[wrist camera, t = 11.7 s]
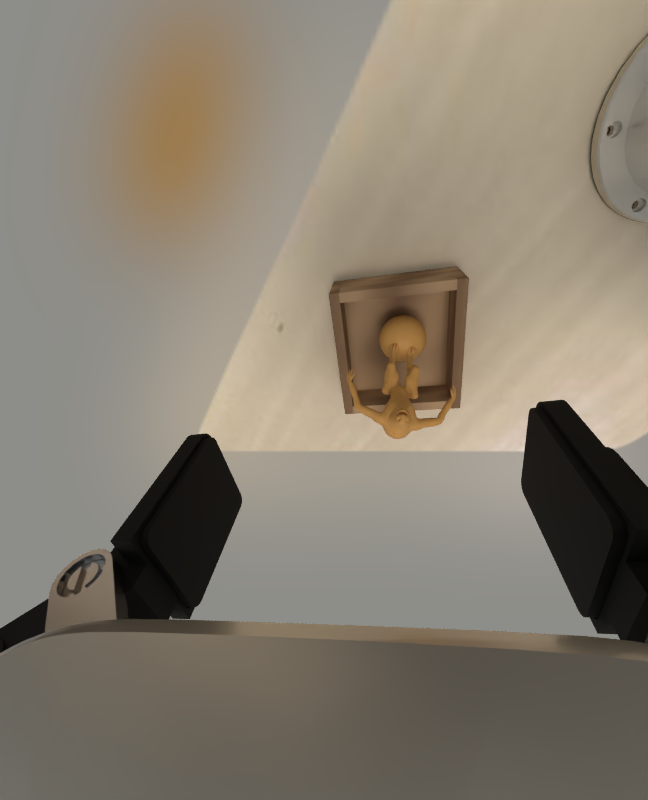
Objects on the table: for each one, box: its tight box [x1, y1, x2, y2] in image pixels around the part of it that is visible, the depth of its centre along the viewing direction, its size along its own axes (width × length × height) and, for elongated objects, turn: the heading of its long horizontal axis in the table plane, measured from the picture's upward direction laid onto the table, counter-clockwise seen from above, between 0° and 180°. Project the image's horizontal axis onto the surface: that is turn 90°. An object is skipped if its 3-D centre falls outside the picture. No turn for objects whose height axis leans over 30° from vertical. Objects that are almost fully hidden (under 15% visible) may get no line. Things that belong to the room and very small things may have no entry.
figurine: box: [347, 315, 456, 439], centre depth 27 cm, size 8×6×12 cm
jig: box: [329, 267, 469, 414], centre depth 31 cm, size 11×12×4 cm
